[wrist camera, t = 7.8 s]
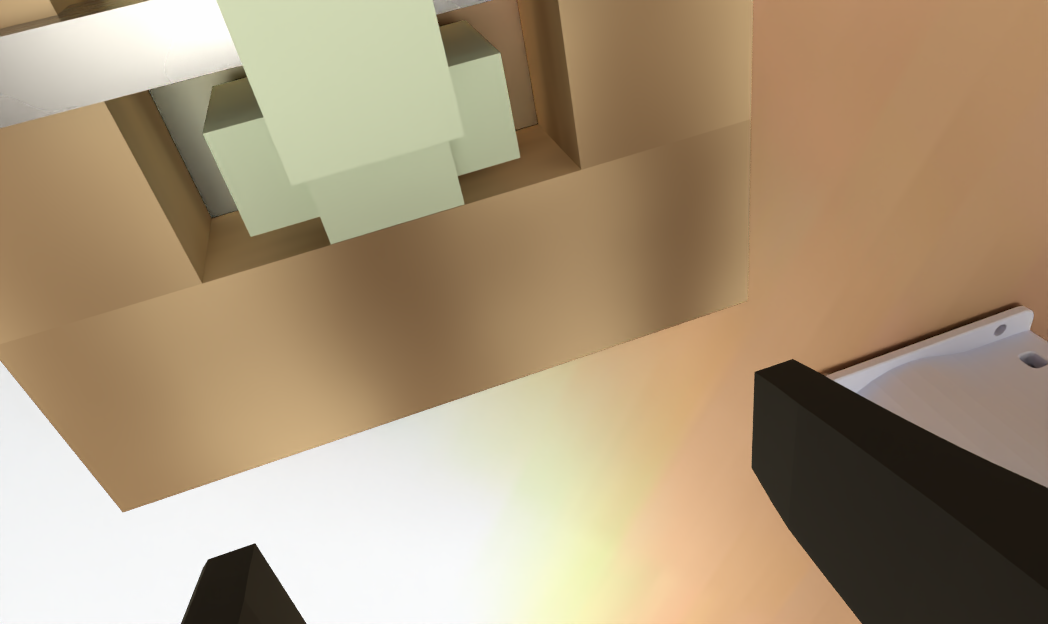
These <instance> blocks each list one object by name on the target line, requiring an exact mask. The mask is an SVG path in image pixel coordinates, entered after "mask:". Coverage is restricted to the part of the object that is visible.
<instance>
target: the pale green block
mask: <svg viewBox="0 0 1048 624" xmlns="http://www.w3.org/2000/svg"><path fill="white" fill-rule="evenodd" d="M216 2H217V4H218V6H219V9H220V11H221V14H222V16H223V19H224V21H225V24H226V26H227V29H228V31H229V33H230V36H231V38H232V41H233V43H234V46H235V48H236V51H237V53H238V56H239V58H240V60H241V63H242V65H243V68H244V70H245V73H246V75H247V77H246V78H243V79H239V80H235V81H231V82H227V83H224V84H220V85H216V86H213V87H212V92H211V97H210V101H209V106H208V111H207V115H206V120H205V125H204V129H203V136H204V138H205V140H206V142H207V145H208V147H209V149H210V151H211V153H212V155H213V157H214V159H215V162H216V164H217V166H218V168H219V170H220V172H221V174H222V177H223V179H224V181H225V183H226V185H227V187H228V189H229V192H230V194H231V196H232V198H233V200H234V202H235V204H236V207H237V209H238V211H239V213H240V215H241V217H242V219H243V221H244V224H245V226H246V228H247V230H248V232H249V234H250V236H251V237H252V236H256V235H259V234H262V233H266V232H269V231H273V230H276V229H279V228H283V227H286V226H290V225H293V224H296V223H300V222H303V221H307V220H310V219H313V218H317V217H320V218H321V221H322V223H323V226H324V228H325V231H326V233H327V236H328V238H329V241H330V243H331V244H334V243H337V242H341V241H344V240H347V239H351V238H354V237H357V236H361V235H364V234H367V233H371V232H374V231H377V230H381V229H384V228H387V227H391V226H394V225H397V224H401V223H404V222H407V221H411V220H414V219H417V218H421V217H424V216H427V215H431V214H434V213H437V212H441V211H444V210H447V209H451V208H454V207H457V206H461V205H464V204H465V203H464V199H463V196H462V192H461V188H460V184H459V180H458V176H460V175H463V174H466V173H470V172H473V171H477V170H480V169H483V168H487V167H490V166H494V165H497V164H500V163H504V162H507V161H511V160H514V159H517V158H520V152H519V147H518V142H517V137H516V131H515V126H514V121H513V116H512V110H511V105H510V100H509V95H508V89H507V84H506V79H505V74H504V68H503V63H502V58H501V53H500V52H499V51H498V50H497V49H496V48H495V47H494V46H493V45H491V44H490V43H489V42H488V41H487V40H486V39H485V38H484V37H483V36H482V35H481V34H480V33H479V32H477V31H476V30H475V29H474V28H473V27H472V26H471V25H470V24H469V23H468V22H467V21H466V20H463V21H459V22H455V23H451V24H448V25H444V26H440V27H439V25H438V21H437V16H436V12H435V8H434V4H433V0H216Z"/></svg>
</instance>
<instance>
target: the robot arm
mask: <svg viewBox="0 0 1048 624" xmlns="http://www.w3.org/2000/svg"><path fill="white" fill-rule="evenodd" d="M1033 317H1034V313H1033V311H1032V310H1030V309H1029V308H1027V307H1025V306H1018V307H1015V308H1012V309H1010V310H1007V311H1004V312H1001V313H998V314H996V315H993V316H990V317H987V318H985V319H982V320H979V321H976V322H973V323H971V324H968V325H965V326H962V327H960V328H957V329H954V330H951V331H948V332H946V333H943V334H940V335H937V336H935V337H932V338H929V339H926V340H923V341H921V342H918V343H915V344H912V345H910V346H907V347H904V348H901V349H898V350H896V351H893V352H890V353H887V354H885V355H882V356H879V357H876V358H873V359H871V360H868V361H865V362H862V363H860V364H857V365H854V366H851V367H848V368H846V369H843V370H840V371H837V372H835V373H832V374H829V375H826V376H824V375H822V374H820V373H818V372H816V371H815V370H813V369H811V368H809V367H807V366H805V365H803V364H801V363H799V362H797V361H796V360H794V359H792V360H789V361H786V362H783V363H780V364H777V365H774V366H771V367H768V368H765V369H762V370H759V371H757V372H755V379H754V410H753V440H752V469H753V471H754V473H755V474H756V476H757V478H758V479H759V481H760V483H761V484H762V486H763V488H764V490H765V491H766V493H767V495H768V496H769V498H770V500H771V502H772V503H773V505H774V506H775V508H776V510H777V511H778V513H779V514H780V516H781V518H782V519H783V521H784V522H785V524H786V526H787V527H788V529H789V530H790V531H791V533H792V534H793V535H794V537H795V538H796V539H797V541H798V542H799V543H800V545H801V546H802V547H803V548H804V550H805V551H806V552H807V554H808V555H809V556H810V558H811V559H812V560H813V561H814V563H815V564H816V565H817V567H818V568H819V569H820V571H821V572H822V573H823V574H824V576H825V577H826V578H827V580H828V581H829V582H830V583H831V585H832V586H833V587H834V588H835V590H836V591H837V592H838V594H839V595H840V596H841V597H842V599H843V600H844V601H845V602H846V604H847V605H848V606H849V608H850V609H851V610H852V611H853V613H854V614H855V615H856V617H857V618H858V619H859V620H860V622H861V623H862V624H1048V342H1047V341H1046V340H1044V339H1043V338H1041V337H1040V336H1038V335H1036V334H1035V333H1033V332H1032V331H1030V327H1031V324H1032V321H1033ZM181 624H306V622H305V621H304V619H303V618H302V616H301V614H300V613H299V611H298V610H297V608H296V607H295V605H294V603H293V602H292V600H291V599H290V597H289V596H288V594H287V592H286V591H285V589H284V588H283V586H282V585H281V583H280V581H279V580H278V578H277V577H276V575H275V574H274V572H273V571H272V569H271V567H270V566H269V564H268V563H267V561H266V560H265V558H264V556H263V555H262V553H261V552H260V550H259V549H258V547H257V545H256V544H252V545H249V546H246V547H243V548H240V549H237V550H235V551H232V552H229V553H226V554H223V555H220V556H217V557H214V558H211V559H208V561H207V562H206V564H205V566H204V567H203V570H202V572H201V575H200V577H199V580H198V582H197V585H196V587H195V590H194V592H193V595H192V597H191V600H190V602H189V605H188V607H187V610H186V612H185V615H184V617H183V620H182V622H181Z"/></svg>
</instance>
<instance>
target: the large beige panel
mask: <svg viewBox="0 0 1048 624" xmlns="http://www.w3.org/2000/svg"><path fill="white" fill-rule="evenodd" d="M487 1H491V0H433V4H434V8H435V12H436V15H437V14H441V13H445V12H449V11H453V10H456V9H460V8H464V7H468V6H472V5H476V4H479V3H483V2H487ZM517 1H518V7H519V13H520V19H521V25H522V31H523V37H524V43H525V49H526V55H527V60H528V66H529V72H530V78H531V84H532V90H533V96H534V102H535V108H536V114H537V120H538V124H537V125H534V126H530V127H527V128H524V129H520V130H517V131H516V137H517V142H518V147H519V152H520V158H517V159H514V160H511V161H507V162H504V163H500V164H497V165H494V166H490V167H487V168H483V169H480V170H477V171H473V172H470V173H466V174H463V175H460V176H458V180H459V184H460V188H461V192H462V196H463V199H464V203H465V204H464V205H461V206H457V207H454V208H451V209H447V210H444V211H441V212H437V213H434V214H431V215H427V216H424V217H421V218H417V219H414V220H411V221H407V222H404V223H401V224H397V225H394V226H391V227H387V228H384V229H381V230H377V231H374V232H371V233H367V234H364V235H361V236H357V237H354V238H351V239H347V240H344V241H341V242H337V243H334V244H331V243H330V241H329V238H328V236H327V233H326V231H325V228H324V226H323V223H322V221H321V218H320V217H317V218H313V219H310V220H307V221H303V222H300V223H296V224H293V225H290V226H286V227H283V228H279V229H276V230H273V231H269V232H266V233H262V234H259V235H256V236H252V237H251V236H250V234H249V232H248V230H247V228H246V226H245V224H244V221H243V219H242V217H241V215H240V213H239V211H235V212H232V213H228V214H225V215H221V216H218V217H215V218H211V216H210V214H209V212H208V210H207V208H206V206H205V204H204V202H203V200H202V198H201V196H200V194H199V192H198V190H197V188H196V186H195V184H194V182H193V180H192V178H191V176H190V174H189V172H188V170H187V168H186V166H185V164H184V162H183V160H182V158H181V156H180V154H179V152H178V150H177V148H176V146H175V144H174V142H173V140H172V138H171V136H170V134H169V132H168V130H167V128H166V126H165V124H164V122H163V120H162V118H161V115H160V113H159V111H158V109H157V107H156V105H155V103H154V101H153V99H152V97H151V95H150V93H149V91H148V90H149V89H153V88H157V87H161V86H165V85H168V84H172V83H176V82H180V81H184V80H188V79H192V78H195V77H199V76H203V75H207V74H211V73H215V72H218V71H222V70H226V69H230V68H234V67H238V66H241V65H242V63H241V60H240V58H239V56H238V53H237V51H236V48H235V46H234V43H233V41H232V38H231V36H230V33H229V31H228V29H227V26H226V24H225V21H224V19H223V16H222V14H221V11H220V9H219V6H218V4H217V2H216V0H0V361H1V362H2V363H3V364H4V366H5V367H6V368H7V369H8V371H9V372H10V373H11V374H12V376H13V377H14V378H15V379H16V381H17V382H18V383H19V384H20V386H21V387H22V388H23V389H24V390H25V392H26V393H27V394H28V395H29V397H30V398H31V399H32V400H33V402H34V403H35V404H36V405H37V407H38V408H39V409H40V410H41V412H42V413H43V414H44V415H45V416H46V418H47V419H48V420H49V421H50V423H51V424H52V425H53V426H54V428H55V429H56V430H57V431H58V433H59V434H60V435H61V436H62V438H63V439H64V440H65V441H66V442H67V444H68V445H69V446H70V447H71V449H72V450H73V451H74V452H75V454H76V455H77V456H78V457H79V459H80V460H81V461H82V462H83V464H84V465H85V466H86V467H87V469H88V470H89V471H90V472H91V473H92V475H93V476H94V477H95V478H96V480H97V481H98V482H99V483H100V485H101V486H102V487H103V488H104V490H105V491H106V492H107V493H108V495H109V496H110V497H111V498H112V499H113V501H114V502H115V503H116V504H117V506H118V507H119V508H120V509H121V511H122V512H126V511H129V510H132V509H134V508H137V507H140V506H143V505H146V504H149V503H152V502H155V501H158V500H161V499H164V498H167V497H170V496H173V495H176V494H179V493H182V492H185V491H188V490H191V489H194V488H197V487H200V486H202V485H205V484H208V483H211V482H214V481H217V480H220V479H223V478H226V477H229V476H232V475H235V474H238V473H241V472H244V471H247V470H250V469H253V468H256V467H259V466H262V465H265V464H268V463H270V462H273V461H276V460H279V459H282V458H285V457H288V456H291V455H294V454H297V453H300V452H303V451H306V450H309V449H312V448H315V447H318V446H321V445H324V444H327V443H330V442H333V441H336V440H339V439H341V438H344V437H347V436H350V435H353V434H356V433H359V432H362V431H365V430H368V429H371V428H374V427H377V426H380V425H383V424H386V423H389V422H392V421H395V420H398V419H401V418H404V417H407V416H409V415H412V414H415V413H418V412H421V411H424V410H427V409H430V408H433V407H436V406H439V405H442V404H445V403H448V402H451V401H454V400H457V399H460V398H463V397H466V396H469V395H472V394H475V393H477V392H480V391H483V390H486V389H489V388H492V387H495V386H498V385H501V384H504V383H507V382H510V381H513V380H516V379H519V378H522V377H525V376H528V375H531V374H534V373H537V372H540V371H543V370H545V369H548V368H551V367H554V366H557V365H560V364H563V363H566V362H569V361H572V360H575V359H578V358H581V357H584V356H587V355H590V354H593V353H596V352H599V351H602V350H605V349H608V348H611V347H613V346H616V345H619V344H622V343H625V342H628V341H631V340H634V339H637V338H640V337H643V336H646V335H649V334H652V333H655V332H658V331H661V330H664V329H667V328H670V327H673V326H676V325H679V324H681V323H684V322H687V321H690V320H693V319H696V318H699V317H702V316H705V315H708V314H711V313H714V312H717V311H720V310H723V309H726V308H729V307H732V306H735V305H738V304H741V303H744V302H747V301H748V274H749V215H750V157H751V98H752V40H753V0H517Z"/></svg>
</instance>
